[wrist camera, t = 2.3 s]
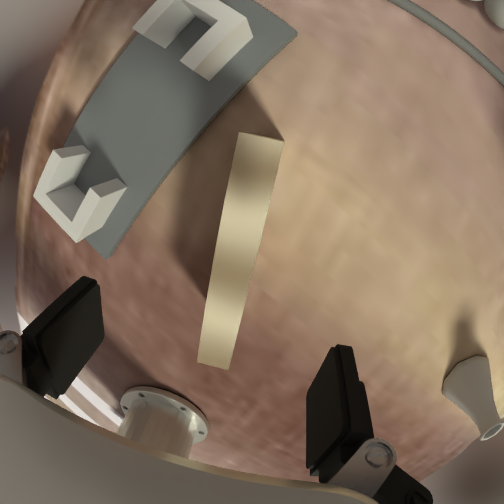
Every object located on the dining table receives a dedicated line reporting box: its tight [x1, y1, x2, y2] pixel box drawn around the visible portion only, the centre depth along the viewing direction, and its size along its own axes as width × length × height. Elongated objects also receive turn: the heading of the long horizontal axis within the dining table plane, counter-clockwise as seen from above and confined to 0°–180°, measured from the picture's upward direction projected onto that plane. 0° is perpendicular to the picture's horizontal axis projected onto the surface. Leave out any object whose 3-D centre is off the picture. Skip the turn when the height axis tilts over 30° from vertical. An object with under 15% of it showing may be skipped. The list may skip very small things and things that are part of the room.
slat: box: [197, 132, 284, 370], centre depth 21 cm, size 16×2×7 cm, turn 168°
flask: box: [442, 355, 504, 440], centre depth 23 cm, size 7×7×10 cm
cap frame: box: [33, 0, 297, 260], centre depth 19 cm, size 25×10×5 cm, turn 138°
